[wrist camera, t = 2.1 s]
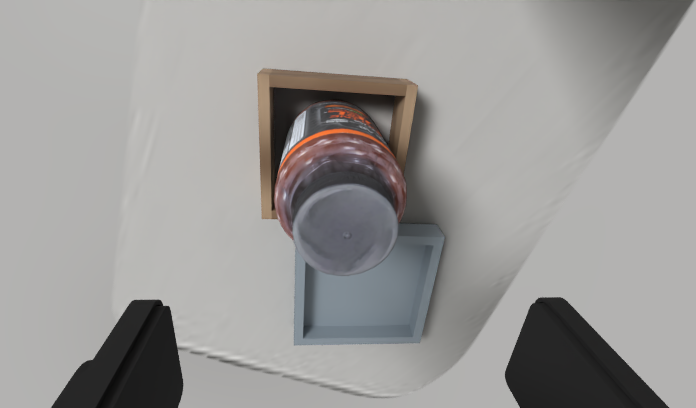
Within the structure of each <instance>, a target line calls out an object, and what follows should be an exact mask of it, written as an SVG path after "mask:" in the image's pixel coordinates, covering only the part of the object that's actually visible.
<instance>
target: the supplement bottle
mask: <svg viewBox="0 0 696 408" xmlns="http://www.w3.org/2000/svg"><path fill="white" fill-rule="evenodd" d="M406 199H407V188H406V181H405V178H404V175H403V172H402V170H401V167H400V165H399V164H398V162H397V160H396V158H395V156H394V155H393V153H392V151H391V150H390V148H389V147H388V145H387V144H386V142H385V140H384V139H383V137H382V136H381V133H380V132H379V130H378V128H377V127H376V125H375V124H374V122H373V121H372V120H371V118H370V117H369V116H368V115H367V114H366V113H365V112H364V111H363V110H361V109H360V108H359V107H357V106H355V105H354V104H351V103H349V102H345V101H341V100H325V101H321V102H317V103H314V104H312V105H310V106H309V107H307V108H306V109H304V110H303V111H302V112H301V113H300V114H299V115H298V116H297V117H296V118H295V120H294V121H293V123H292V125H291V127H290V129H289V131H288V134H287V138H286V142H285V147H284V151H283V155H282V159H281V163H280V167H279V171H278V175H277V179H276V184H275V194H274V202H275V209H276V214H277V217H278V220H279V222H280V224H281V226H282V227H283V229H284V231H285V232H286V233H287V235H288V236H289V237H290V238H291V239H292V240H293V241H294V244H295V246H296V249H297V251H298V253H299V254H300V255H301V257H302V258H303V259H304V261H305V262H307V263H308V264H309V265H310V266H311V267H313V268H315V269H316V270H318V271H321V272H323V273H325V274H330V275H335V276H350V275H356V274H361V273H363V272H366V271H368V270H370V269H372V268H374V267H376V266H377V265H379V264H380V263H381V262H382V261H384V260H385V258H386V257H387V256H388V255H389V254H390V252H391V251H392V249H393V248H394V245H395V243H396V240H397V238H398V231H399V223H400V221H401V218H402V216H403V214H404V210H405V207H406Z"/></svg>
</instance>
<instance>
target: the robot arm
mask: <svg viewBox="0 0 696 408" xmlns="http://www.w3.org/2000/svg"><path fill="white" fill-rule="evenodd" d="M505 379H506V382H507V385H508V387H509V389H510V391H511V392H512V394H513V396H514V398H515V399H516V401H517V403H518V405H519V406H520V408H669V407H668V406H667V405H666V404H665V403H664V402H663V401H662V400H661V399H660V398H659V397H658V396H657V395H656V394H655V392H654V391H653V390H652V389H651V388H650V387H649V386H648V385H647V384H646V383H645V382H644V381H643V380H642V379H641V378H640V377H639V376H638V375H637V374H636V373H635V372H634V371H633V370H632V368H631V367H629V365H627V363H626V362H625V361H624V360H623V359H622V358H621V357H620V356H619V355H618V354H617V353H616V352H615V351H614V350H613V349H612V348H611V347H610V346H609V345H608V344H607V343H606V341H605V340H604V339H603V338H602V337H601V336H600V335H599V334H598V333H597V332H596V331H595V330H594V329H593V328H592V327H591V326H590V325H589V324H588V323H587V322H586V321H585V320H584V318H582V316H580V314H579V313H578V312H577V311H576V310H575V309H574V308H573V307H572V306H571V305H570V304H569V303H568V302H567V301H566V300H565V299H563V298H560V297H559V298H558V297H557V298H538V299H537V300H536V302H535V303H533V304H532V305H531V306H530V309H529V311H528V314H527V316H526V319H525V322H524V324H523V327H522V329H521V332H520V335H519V337H518V340H517V343H516V345H515V348H514V350H513V353H512V355H511V358H510V361H509V363H508V366H507V368H506V371H505ZM182 391H183V379H182V373H181V367H180V361H179V355H178V350H177V344H176V338H175V333H174V327H173V321H172V316H171V310H170V307H169V306H163V304H162V302H161V300H134V301H132V302H131V303H130V304H129V306H128V307H127V309H126V310H125V312H124V313H123V315H122V316H121V318H120V319H119V321H118V322H117V324H116V325H115V327H114V329H113V330H112V332H111V333H110V335H109V336H108V338H107V339H106V341H105V342H104V344H103V345H102V347H101V349H100V350H99V351H98V353H97V354H96V356H95V358H94V359H93V360H89V361H86V362H85V363H83V364H82V365H81V366H80V367H79V368H78V369H77V371H76V372H75V373H74V375H73V376H72V378H71V379H70V381H69V382H68V384H67V385H66V387H65V388H64V390H63V391H62V393H61V394H60V395H59V397H58V398H57V400H56V401H55V403H54V404H53V406H52V408H178V405H179V402H180V400H181V396H182Z"/></svg>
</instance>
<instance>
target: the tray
mask: <svg viewBox="0 0 696 408" xmlns="http://www.w3.org/2000/svg"><path fill="white" fill-rule="evenodd" d="M444 239H445V236H444V235H443V233H442V232H441V230H440V228H439V227H438V225H437V224H404V223H399V231H398V238H397V240H396V243H395V245H394V248H393V249H392V251H391V252H390V254H389V255H388V256H387V257H386V258H385V260H384V261H382V262H381V263H380V264H379V265H377V266H376V267H374V268H372V269H370V270H368V271H366V272H363V273H361V274H356V275H350V276H335V275H330V274H325V273H323V272H321V271H318V270H316V269H315V268H313V267H311V266H310V265H309V264H308V263H307V262H305V261H304V259H303V258H302V257H301V255H300V254H299V253H298V251H297V249H296V251H295V308H294V345H339V344H399V343H420V340H421V336H422V332H423V327H424V323H425V319H426V315H427V311H428V306H429V302H430V298H431V294H432V290H433V285H434V281H435V277H436V273H437V268H438V264H439V260H440V256H441V252H442V247H443V243H444Z"/></svg>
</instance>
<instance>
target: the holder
mask: <svg viewBox="0 0 696 408" xmlns="http://www.w3.org/2000/svg"><path fill="white" fill-rule="evenodd" d="M257 80H258V111H259V143H260V175H261V207H262V219H278V217H277V214H276V209H275V202H274V194H275V144H274V87H279V88H294V89H309V90H323V91H338V92H353V93H367V94H382V95H395V101H394V108H393V115H392V123H391V130H390V137H389V145H388V147H389V148H390V150H391V151H392V153H393V155H394V156H395V158H396V160H397V162H398V164H399V165H400V167H401V170H402V172H403V175H404V169H405V163H406V157H407V151H408V145H409V139H410V132H411V126H412V120H413V114H414V108H415V101H416V95H417V89H418V85H416V84H414V83H413V82H411V81H409V80H408V79H397V78H383V77H370V76H356V75H343V74H329V73H316V72H302V71H289V70H275V69H262V70H261V71H260V72H259V73H258V74H257Z"/></svg>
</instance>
